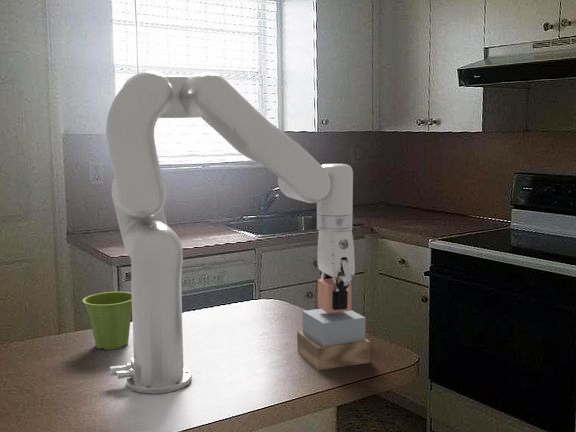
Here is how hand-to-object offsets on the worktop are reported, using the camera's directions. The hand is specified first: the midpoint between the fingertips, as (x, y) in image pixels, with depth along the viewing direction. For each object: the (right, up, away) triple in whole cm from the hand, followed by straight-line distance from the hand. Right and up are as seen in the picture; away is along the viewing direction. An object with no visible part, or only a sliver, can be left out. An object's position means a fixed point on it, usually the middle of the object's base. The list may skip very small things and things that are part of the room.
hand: (334, 304), depth 143 cm
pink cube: (0, -1, 0) cm, 1 cm away
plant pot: (-51, -11, +10) cm, 53 cm away
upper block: (0, -7, +1) cm, 7 cm away
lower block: (0, -12, +2) cm, 12 cm away
